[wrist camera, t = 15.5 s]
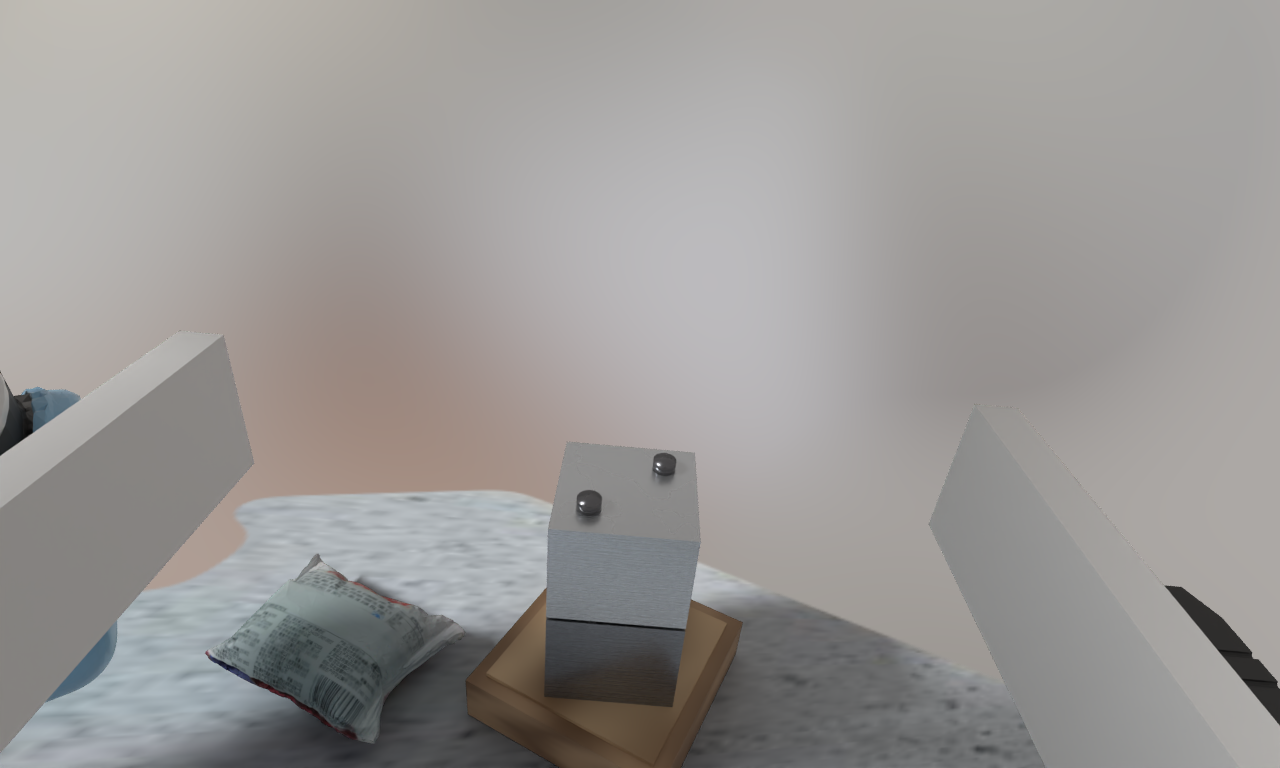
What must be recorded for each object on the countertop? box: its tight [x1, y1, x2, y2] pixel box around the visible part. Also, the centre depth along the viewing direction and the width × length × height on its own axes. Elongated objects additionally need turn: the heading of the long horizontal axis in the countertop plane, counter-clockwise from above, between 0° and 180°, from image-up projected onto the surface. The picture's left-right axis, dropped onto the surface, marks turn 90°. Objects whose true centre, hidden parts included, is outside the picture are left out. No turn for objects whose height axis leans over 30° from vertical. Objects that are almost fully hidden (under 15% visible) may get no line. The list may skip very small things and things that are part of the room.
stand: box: [466, 588, 743, 768], centre depth 42 cm, size 12×12×3 cm
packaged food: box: [205, 554, 465, 743], centre depth 41 cm, size 9×12×5 cm
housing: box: [544, 442, 701, 707], centre depth 38 cm, size 7×7×13 cm
